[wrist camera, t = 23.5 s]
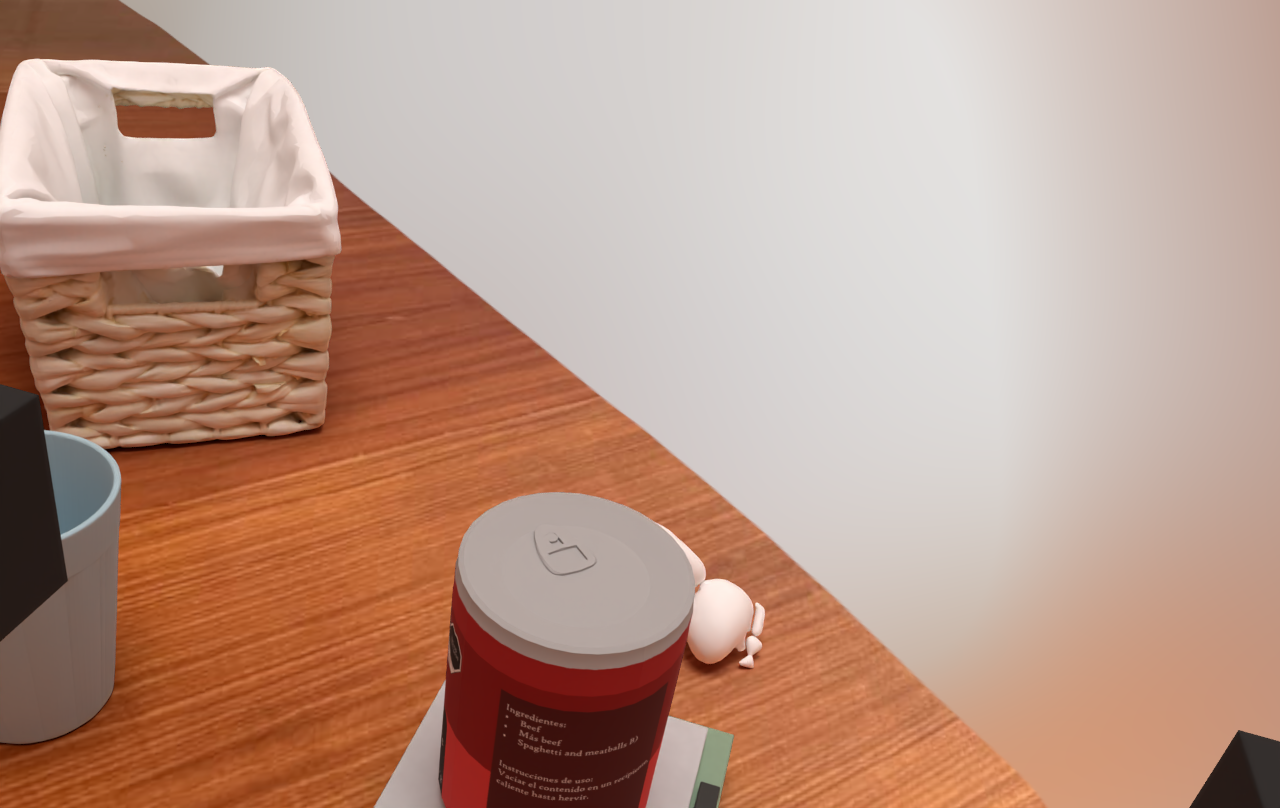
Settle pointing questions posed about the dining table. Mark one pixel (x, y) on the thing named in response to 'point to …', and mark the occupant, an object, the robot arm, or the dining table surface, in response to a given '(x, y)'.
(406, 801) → the scale
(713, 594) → the rabbit figurine
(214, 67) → the basket
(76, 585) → the cup
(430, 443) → the dining table surface
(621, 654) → the canned food
